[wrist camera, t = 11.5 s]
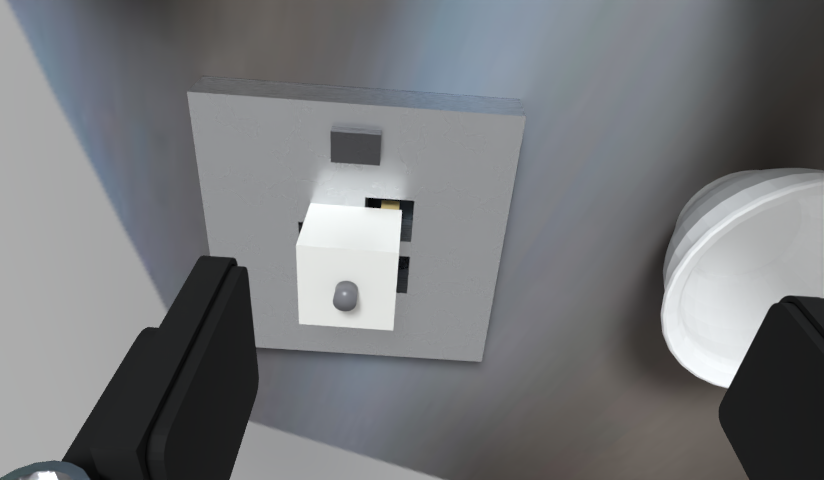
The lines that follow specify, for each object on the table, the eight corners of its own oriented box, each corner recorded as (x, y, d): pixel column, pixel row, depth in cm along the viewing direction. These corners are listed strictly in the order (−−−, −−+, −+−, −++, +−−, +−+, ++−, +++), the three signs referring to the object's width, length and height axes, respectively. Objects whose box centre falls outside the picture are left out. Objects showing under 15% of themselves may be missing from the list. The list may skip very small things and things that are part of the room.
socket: (519, 99, 37) (528, 121, 34) (478, 335, 48) (482, 369, 45) (203, 76, 37) (182, 96, 34) (233, 319, 48) (219, 352, 45)
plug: (402, 199, 40) (398, 264, 33) (397, 271, 43) (392, 343, 36) (313, 192, 40) (291, 256, 33) (315, 264, 43) (295, 336, 36)
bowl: (649, 117, 38) (702, 176, 31) (900, 120, 38) (1012, 180, 30) (604, 309, 46) (637, 391, 39) (808, 312, 46) (878, 395, 39)
